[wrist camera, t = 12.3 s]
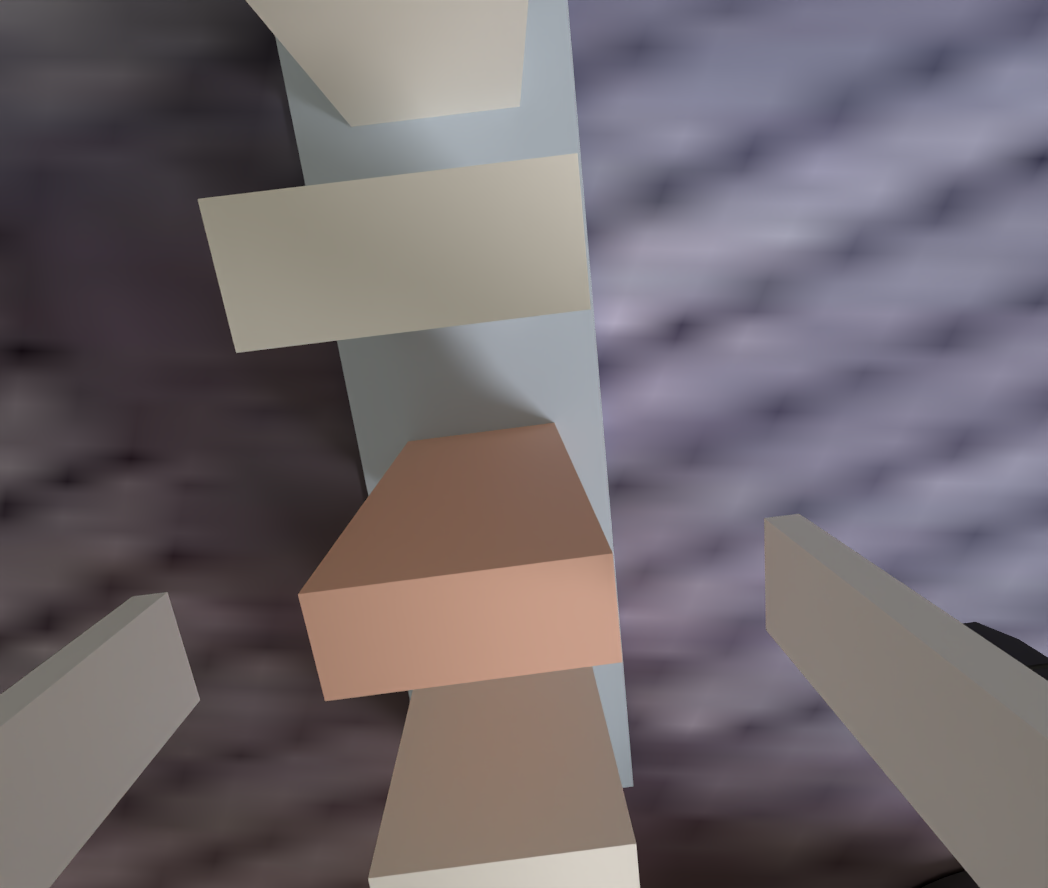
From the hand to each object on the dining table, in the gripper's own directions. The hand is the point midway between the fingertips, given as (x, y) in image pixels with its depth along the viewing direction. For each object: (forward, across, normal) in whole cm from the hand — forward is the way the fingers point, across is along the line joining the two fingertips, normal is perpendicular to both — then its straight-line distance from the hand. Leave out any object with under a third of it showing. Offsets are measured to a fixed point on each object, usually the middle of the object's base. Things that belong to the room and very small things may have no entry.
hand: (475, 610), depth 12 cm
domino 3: (+11, 0, +6) cm, 13 cm away
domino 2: (+11, 0, -1) cm, 11 cm away
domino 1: (+10, 0, -8) cm, 13 cm away
